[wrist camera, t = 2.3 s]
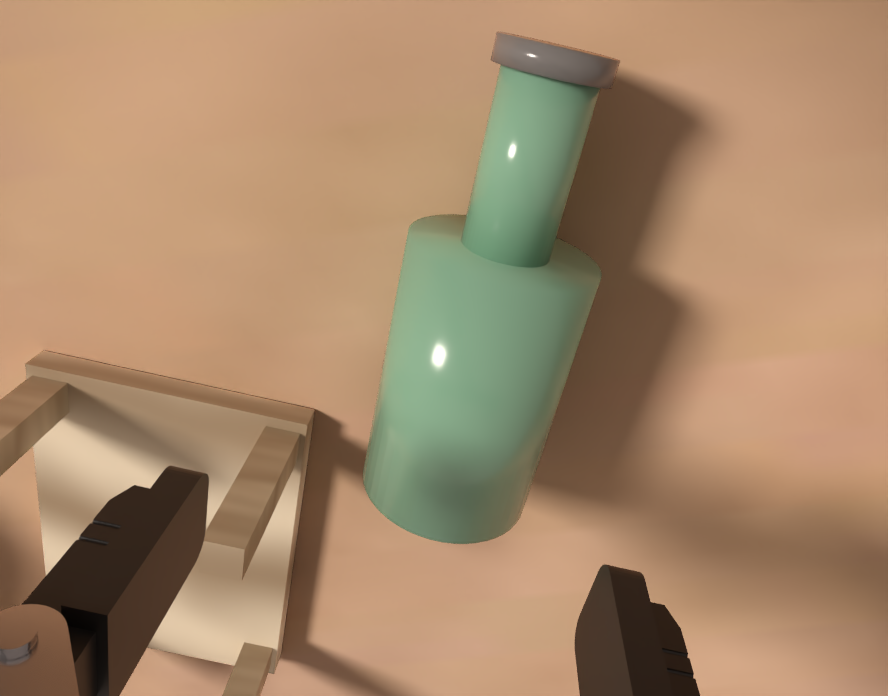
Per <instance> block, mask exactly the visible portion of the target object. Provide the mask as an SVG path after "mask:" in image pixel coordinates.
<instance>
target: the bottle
mask: <svg viewBox="0 0 888 696" xmlns="http://www.w3.org/2000/svg"><path fill="white" fill-rule="evenodd" d="M491 61H493V62H496V63H498V64H501V65H500V70H499V74H498V79H497V83H496V87H495V92H494V96H493V101H492V105H491V109H490V114H489V118H488V123H487V127H486V132H485V136H484V140H483V145H482V149H481V154H480V158H479V162H478V167H477V171H476V176H475V180H474V184H473V189H472V193H471V198H470V202H469V206H468V211H467V215H435V216H428V217H424V218H421V219H418V220H417V221H415V222H413V223H412V224H411V225H410V227H409V230H408V235H407V240H406V246H405V251H404V256H403V262H402V267H401V272H400V278H399V283H398V288H397V294H396V299H395V304H394V310H393V315H392V320H391V326H390V331H389V336H388V342H387V347H386V352H385V358H384V363H383V368H382V374H381V379H380V384H379V390H378V395H377V400H376V406H375V411H374V416H373V422H372V427H371V432H370V438H369V443H368V448H367V454H366V459H365V464H364V470H363V482H364V486H365V490H366V492H367V494H368V496H369V498H370V500H371V501H372V503H373V504H374V505H375V507H376V508H377V509H378V510H379V511H380V512H381V513H382V514H383V515H384V516H386V517H387V518H388V519H389V520H390V521H392V522H393V523H395V524H396V525H398V526H399V527H401V528H403V529H405V530H407V531H409V532H411V533H413V534H416V535H418V536H421V537H424V538H427V539H430V540H435V541H439V542H445V543H453V544H469V543H479V542H484V541H488V540H491V539H494V538H496V537H499V536H501V535H503V534H504V533H506V532H507V531H509V530H510V529H511V528H512V527H513V526H514V525H515V524H516V523H517V521H518V520H519V518H520V516H521V514H522V511H523V508H524V505H525V502H526V499H527V496H528V493H529V490H530V487H531V484H532V481H533V478H534V475H535V473H536V470H537V467H538V464H539V461H540V458H541V455H542V452H543V449H544V446H545V443H546V440H547V437H548V434H549V431H550V428H551V425H552V422H553V419H554V416H555V413H556V410H557V407H558V405H559V402H560V399H561V396H562V393H563V390H564V387H565V384H566V381H567V378H568V375H569V372H570V369H571V366H572V363H573V360H574V357H575V354H576V351H577V348H578V345H579V342H580V339H581V336H582V334H583V331H584V328H585V325H586V322H587V319H588V316H589V313H590V310H591V307H592V304H593V301H594V298H595V295H596V292H597V289H598V286H599V283H600V280H601V277H602V273H601V270H600V268H599V266H598V265H597V263H596V262H595V261H594V260H593V259H592V258H590V257H589V256H588V255H587V254H585V253H584V252H582V251H581V250H579V249H578V248H576V247H574V246H573V245H571V244H569V243H567V242H565V241H563V240H560V239H558V238H556V237H557V234H558V230H559V227H560V224H561V220H562V217H563V213H564V210H565V207H566V203H567V200H568V196H569V193H570V190H571V186H572V183H573V180H574V176H575V173H576V169H577V166H578V163H579V159H580V156H581V152H582V149H583V146H584V142H585V139H586V136H587V132H588V129H589V125H590V122H591V119H592V115H593V112H594V109H595V105H596V102H597V98H598V95H599V92H600V88H604V89H612V86H613V83H614V80H615V76H616V73H617V70H618V66H619V63H620V60H618V59H614V58H611V57H608V56H604V55H600V54H596V53H593V52H589V51H585V50H581V49H577V48H572V47H568V46H564V45H560V44H556V43H551V42H547V41H543V40H538V39H534V38H529V37H524V36H519V35H515V34H509V33H504V32H497V34H496V38H495V43H494V47H493V52H492V57H491Z"/></svg>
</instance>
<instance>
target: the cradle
mask: <svg viewBox="0 0 888 696" xmlns="http://www.w3.org/2000/svg"><path fill="white" fill-rule="evenodd" d="M25 367H26V377H27V380H25V381H24V382H23V383H22V384H20V385H19V386H18V387H16V388H15V389H14V390H13V391H11V392H10V393H9V394H7V395H6V396H5V397H3V398H2V399H1V400H0V476H1V475H2V474H3V473H4V472H5V471H6V470H8V469H9V468H10V467H11V466H12V465H13V464H14V463H15V462H16V461H17V460H18V459H19V458H20V457H22V456H23V455H24V454H25V453H26V452H27V451H28V450H29V449H30V448H31V447H32V446H33V449H34V459H35V470H36V480H37V490H38V501H39V511H40V521H41V532H42V542H43V552H44V562H45V573H46V575H47V574H48V573H49V572H50V571H51V569H52V568H53V567H54V566H55V565H56V563H57V562H58V561H59V560H60V559H61V557H62V556H63V555H64V554H65V553H66V551H67V550H68V549H69V548H70V547H71V545H72V544H73V543H74V542H75V541H76V540H78V539H79V537H80V535H81V533H82V532H83V531H84V530H85V529H86V527H87V526H88V525H89V524H90V523H91V524H92V522H93V519H94V518H95V517H96V515H97V514H98V513H99V512H100V511H101V509H102V508H103V507H104V506H105V505H106V503H107V502H108V501H109V500H110V499H112V498H113V497H115V496H117V495H118V494H120V493H122V492H123V491H125V490H127V489H128V488H130V487H132V486H134V485H137V486H141V487H145V488H151V487H152V485H153V484H154V483H155V481H156V480H157V479H158V477H159V476H160V475H161V474H162V472H163V471H164V470H165V469H166V468H167V467H168V466H176V467H180V468H184V469H189V470H193V471H198V472H202V473H206V474H208V477H209V488H208V503H207V518H206V531H205V537H204V542H203V545H202V549H201V551H200V554H199V557H198V559H197V561H196V563H195V565H194V567H193V568H192V570H191V572H190V574H189V575H188V577H187V579H186V581H185V582H184V584H183V586H182V588H181V589H180V591H179V593H178V594H177V596H176V598H175V600H174V601H173V603H172V605H171V607H170V608H169V610H168V612H167V614H166V615H165V617H164V619H163V621H162V622H161V624H160V626H159V627H158V629H157V631H156V633H155V634H154V636H153V638H152V640H151V641H150V643H149V645H148V647H147V648H151V649H156V650H161V651H166V652H171V653H176V654H180V655H185V656H190V657H195V658H200V659H204V660H209V661H214V662H219V663H224V664H228V665H233V666H234V668H233V671H232V673H231V676H230V678H229V681H228V683H227V685H226V688H225V690H224V693H223V695H222V696H260V695H261V692H262V689H263V686H264V683H265V680H266V678H267V675H268V673H272V674H274V673H275V670H276V667H277V664H278V661H279V658H280V655H281V651H282V643H283V636H284V629H285V622H286V614H287V607H288V600H289V593H290V585H291V578H292V571H293V564H294V556H295V549H296V542H297V535H298V527H299V520H300V513H301V506H302V499H303V491H304V484H305V477H306V470H307V462H308V455H309V448H310V441H311V433H312V426H313V419H314V412H315V409H311V408H306V407H302V406H297V405H293V404H288V403H283V402H279V401H274V400H270V399H265V398H260V397H256V396H251V395H247V394H242V393H237V392H233V391H228V390H224V389H219V388H215V387H210V386H205V385H201V384H196V383H192V382H187V381H182V380H178V379H173V378H169V377H164V376H159V375H155V374H150V373H146V372H141V371H136V370H132V369H127V368H123V367H118V366H113V365H109V364H104V363H100V362H95V361H90V360H86V359H81V358H77V357H72V356H67V355H63V354H58V353H54V352H49V351H44V350H43V351H42V352H41V353H39V354H38V355H37V356H35V357H34V358H32V359H31V360H30V361H28V362H27V363H26V364H25Z"/></svg>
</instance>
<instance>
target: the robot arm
mask: <svg viewBox="0 0 888 696" xmlns="http://www.w3.org/2000/svg"><path fill="white" fill-rule="evenodd" d="M208 488H209V477H208V474H206V473H202V472H198V471H193V470H189V469H184V468H180V467H176V466H168V467H167V468H166V469H165V470H164V471H163V472H162V474H161V475H160V476H159V477H158V479H157V480H156V481H155V483H154V484H153V485H152V487H151V488H145V487H141V486H137V485H134V486H132V487H130V488H128V489H127V490H125V491H123V492H122V493H120V494H118V495H117V496H115V497H113V498H112V499H110V500H109V501H108V502H107V503H106V505H105V506H104V507H103V508H102V509H101V511H100V512H99V513H98V514H97V515H96V517H95V518H94V519H93V522H92V524H91V523H90V524H89V525H88V526H87V527H86V529H85V530H84V531H83V532H82V533H81V535H80V537H79V539H78V540H76V541H75V542H74V543H73V544H72V545H71V547H70V548H69V549H68V550H67V551H66V553H65V554H64V555H63V556H62V557H61V559H60V560H59V561H58V562H57V563H56V565H55V566H54V567H53V568H52V569H51V571H50V572H49V573H48V574H47V575H46V577H45V578H44V579H43V580H42V581H41V583H40V584H39V585H38V586H37V587H36V589H35V590H34V591H33V592H32V593H31V595H30V596H29V597H28V598H27V599H26V600H25V602H24V603H23V604H22V605H18V606H13V607H10V608H7V609H4V610H1V611H0V696H119V695H120V693H121V692H122V690H123V688H124V687H125V685H126V683H127V681H128V680H129V678H130V676H131V674H132V673H133V671H134V669H135V667H136V666H137V664H138V662H139V660H140V659H141V657H142V655H143V654H144V652H145V650H146V648H147V647H148V645H149V643H150V641H151V640H152V638H153V636H154V634H155V633H156V631H157V629H158V627H159V626H160V624H161V622H162V621H163V619H164V617H165V615H166V614H167V612H168V610H169V608H170V607H171V605H172V603H173V601H174V600H175V598H176V596H177V594H178V593H179V591H180V589H181V588H182V586H183V584H184V582H185V581H186V579H187V577H188V575H189V574H190V572H191V570H192V568H193V567H194V565H195V563H196V561H197V559H198V557H199V554H200V551H201V549H202V545H203V542H204V537H205V531H206V518H207V503H208ZM575 655H576V664H577V673H578V682H579V691H580V696H700V694H699V690H698V687H697V683H696V680H695V679H693V674H694V673H693V670H692V666H691V663H690V659H689V658H687V655H688V652H687V649H686V645H685V642H684V638H683V635H682V631H681V629H680V627H679V626H678V624H677V623H676V621H675V620H674V618H673V617H672V616H671V614H670V613H669V611H668V610H667V608H666V607H665V605H661V604H657V603H652V602H650V598H649V594H648V590H647V586H646V582H645V579H644V576H643V574H642V573H640V572H636V571H632V570H628V569H623V568H619V567H614V566H610V565H602V567H601V568H600V569H599V572H598V574H597V576H596V578H595V581H594V583H593V585H592V588H591V590H590V592H589V595H588V597H587V599H586V602H585V604H584V606H583V609H582V611H581V613H580V616H579V619H578V622H577V627H576V633H575Z"/></svg>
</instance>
